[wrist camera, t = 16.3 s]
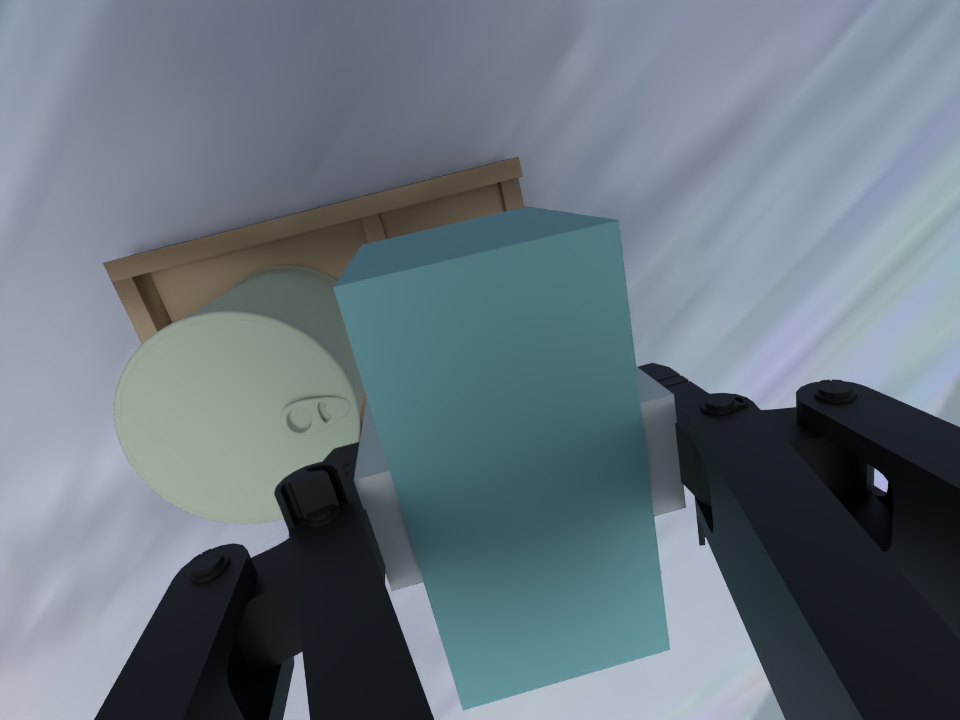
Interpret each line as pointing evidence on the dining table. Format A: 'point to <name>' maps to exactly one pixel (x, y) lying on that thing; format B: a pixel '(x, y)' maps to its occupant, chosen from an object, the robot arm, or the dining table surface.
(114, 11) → the dining table surface
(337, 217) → the cradle jig
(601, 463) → the wing block
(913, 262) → the dining table surface
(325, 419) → the can
